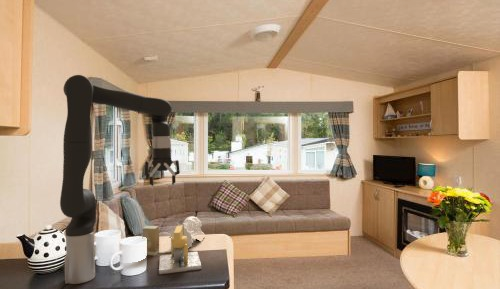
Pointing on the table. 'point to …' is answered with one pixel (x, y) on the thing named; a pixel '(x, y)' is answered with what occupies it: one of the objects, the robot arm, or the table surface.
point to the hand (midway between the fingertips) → (162, 184)
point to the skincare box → (152, 239)
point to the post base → (175, 265)
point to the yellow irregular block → (178, 237)
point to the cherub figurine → (190, 229)
